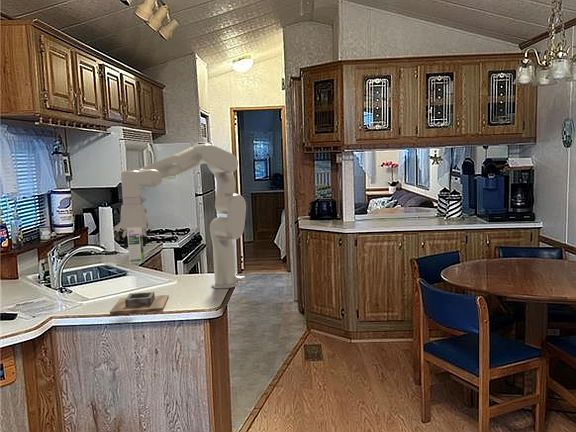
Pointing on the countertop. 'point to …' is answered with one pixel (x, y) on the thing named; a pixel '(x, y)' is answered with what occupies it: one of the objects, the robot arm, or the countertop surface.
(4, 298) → the countertop surface
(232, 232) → the robot arm
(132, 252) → the syrup box
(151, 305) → the socket stand
